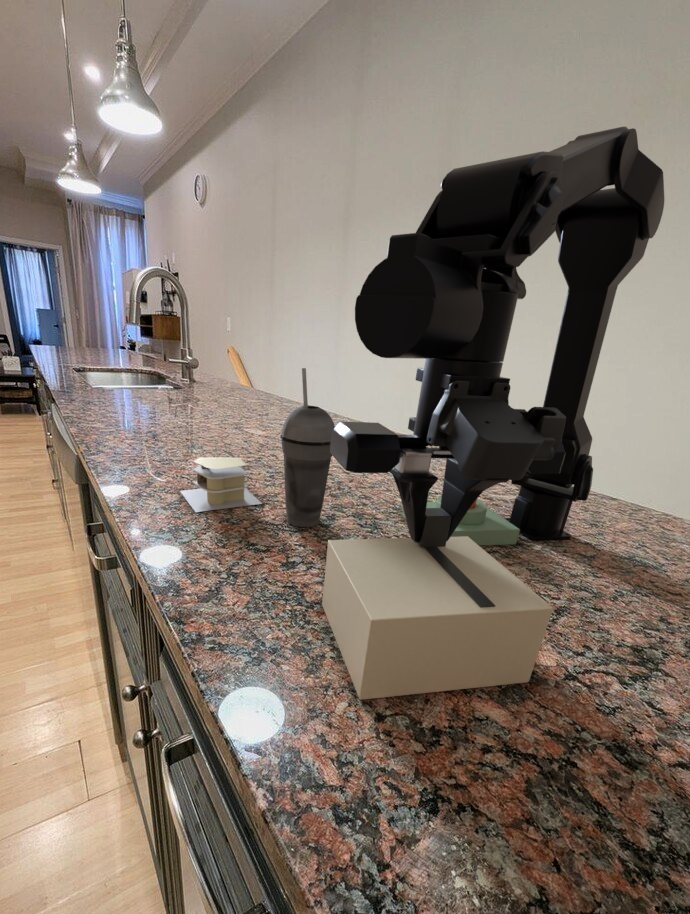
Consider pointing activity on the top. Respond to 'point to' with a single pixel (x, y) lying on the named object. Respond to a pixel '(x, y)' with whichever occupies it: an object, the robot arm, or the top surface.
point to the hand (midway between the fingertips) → (428, 540)
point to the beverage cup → (306, 461)
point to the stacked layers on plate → (219, 485)
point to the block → (482, 525)
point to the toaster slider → (435, 528)
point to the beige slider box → (429, 616)
